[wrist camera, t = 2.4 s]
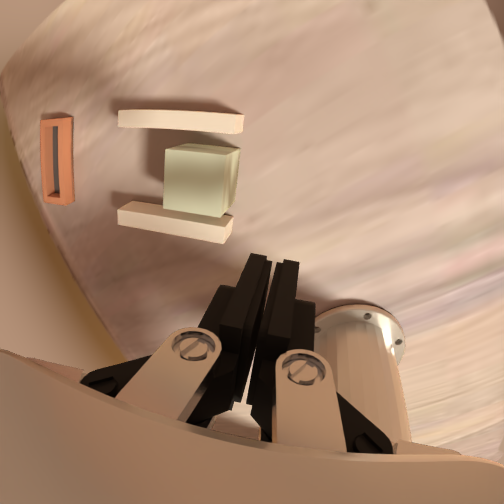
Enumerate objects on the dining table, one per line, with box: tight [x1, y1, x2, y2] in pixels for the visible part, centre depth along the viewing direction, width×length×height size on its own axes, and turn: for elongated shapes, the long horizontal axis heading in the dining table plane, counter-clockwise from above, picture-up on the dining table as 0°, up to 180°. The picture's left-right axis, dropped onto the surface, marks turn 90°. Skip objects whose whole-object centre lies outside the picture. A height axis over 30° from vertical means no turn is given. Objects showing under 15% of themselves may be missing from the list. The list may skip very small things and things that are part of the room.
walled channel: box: [117, 109, 244, 244], centre depth 27 cm, size 11×11×3 cm
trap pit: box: [40, 117, 75, 206], centre depth 30 cm, size 10×4×2 cm, turn 173°
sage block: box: [163, 143, 240, 218], centre depth 26 cm, size 5×5×5 cm
